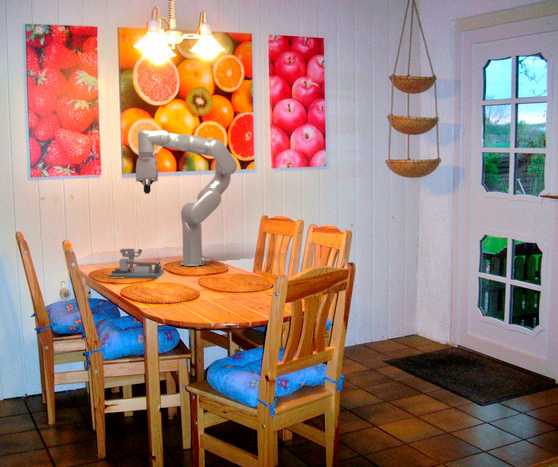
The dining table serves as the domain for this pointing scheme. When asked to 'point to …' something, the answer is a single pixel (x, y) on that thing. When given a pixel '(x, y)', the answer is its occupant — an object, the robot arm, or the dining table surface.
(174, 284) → the dining table surface
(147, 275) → the socket board
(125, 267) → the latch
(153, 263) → the silver metal bar
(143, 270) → the heatsink
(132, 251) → the mechanical component
